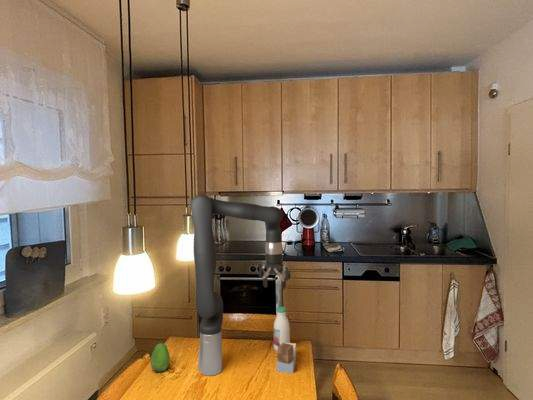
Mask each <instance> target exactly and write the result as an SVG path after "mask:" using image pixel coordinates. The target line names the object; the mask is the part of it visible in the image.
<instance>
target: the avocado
mask: <svg viewBox="0 0 533 400" xmlns="http://www.w3.org/2000/svg"><path fill="white" fill-rule="evenodd" d="M170 359H171V356H170V352H169V350H168V347H167V345H166V344H165V343H163V342H159V343H157V344H156V345H155V347H154V349H153V351H152V354H151V357H150V366H151V369H152V370H153V371H155V372H156V373H161V372H163V371H165V370H167V368H168V366H169V364H170Z"/></svg>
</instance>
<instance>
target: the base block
mask: <svg viewBox="0 0 533 400" xmlns="http://www.w3.org/2000/svg"><path fill="white" fill-rule="evenodd" d="M295 366H296V359H295V356H293V360H292V361H291V362H290V363H289V364H286V363H282V362H279V361H278V359H277V361H276V373H286V374H294V371H295Z"/></svg>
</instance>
